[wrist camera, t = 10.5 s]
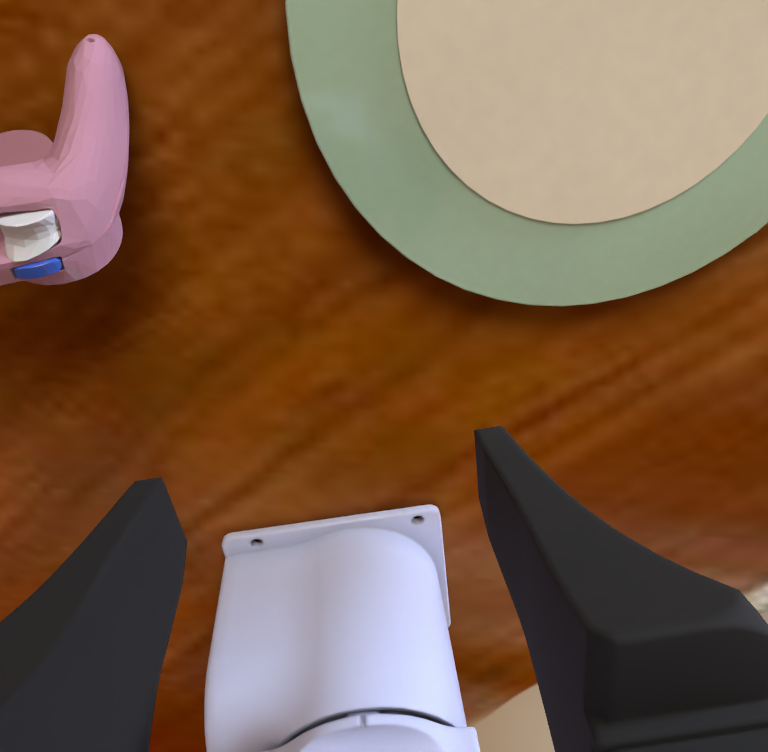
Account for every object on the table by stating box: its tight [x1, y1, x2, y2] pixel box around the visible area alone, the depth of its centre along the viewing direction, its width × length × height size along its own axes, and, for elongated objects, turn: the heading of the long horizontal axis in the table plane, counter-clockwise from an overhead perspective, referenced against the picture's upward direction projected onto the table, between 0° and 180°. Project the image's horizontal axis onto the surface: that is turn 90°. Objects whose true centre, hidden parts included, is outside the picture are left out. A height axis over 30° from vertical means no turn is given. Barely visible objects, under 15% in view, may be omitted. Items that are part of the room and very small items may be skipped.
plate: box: [285, 0, 768, 306], centre depth 19 cm, size 18×18×1 cm
